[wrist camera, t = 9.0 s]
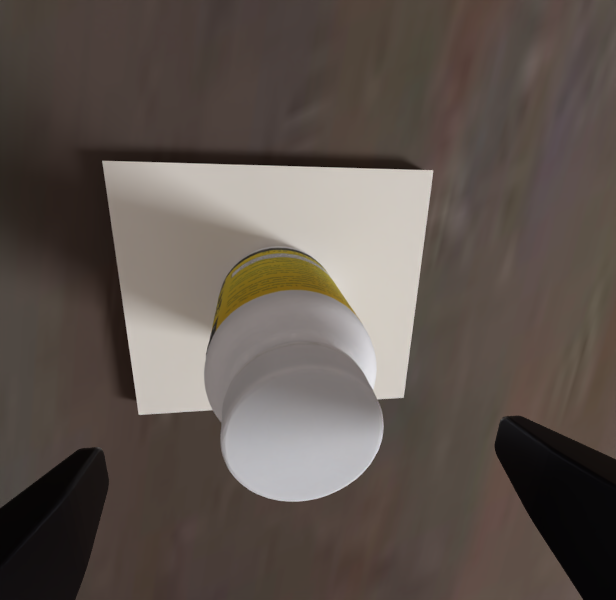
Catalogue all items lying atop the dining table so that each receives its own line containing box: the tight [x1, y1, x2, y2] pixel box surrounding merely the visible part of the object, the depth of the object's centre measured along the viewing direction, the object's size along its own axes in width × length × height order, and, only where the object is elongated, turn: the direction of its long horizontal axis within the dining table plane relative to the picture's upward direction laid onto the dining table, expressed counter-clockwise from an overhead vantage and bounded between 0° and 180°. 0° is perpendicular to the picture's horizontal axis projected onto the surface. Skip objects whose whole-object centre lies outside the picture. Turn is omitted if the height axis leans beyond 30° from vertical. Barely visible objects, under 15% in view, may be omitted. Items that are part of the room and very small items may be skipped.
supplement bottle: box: [204, 246, 383, 501], centre depth 14 cm, size 5×5×10 cm
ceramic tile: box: [102, 161, 433, 415], centre depth 19 cm, size 14×12×1 cm
